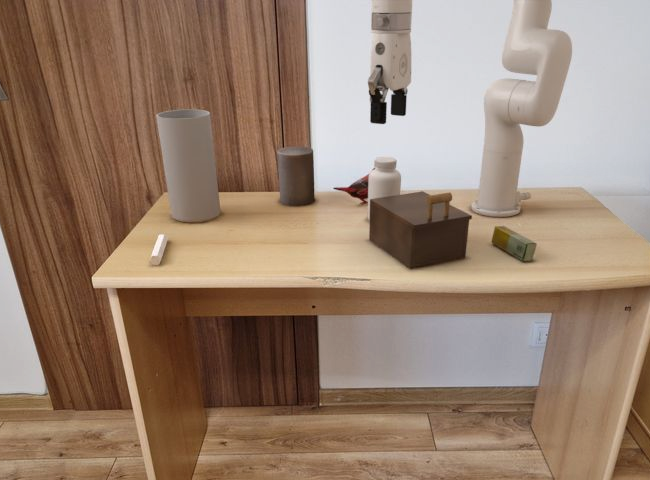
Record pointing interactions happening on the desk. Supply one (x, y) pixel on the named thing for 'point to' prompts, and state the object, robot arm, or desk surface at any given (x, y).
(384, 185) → the pill bottle
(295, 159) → the pillar candle
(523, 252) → the medication box
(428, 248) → the chest
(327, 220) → the desk surface
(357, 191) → the decorative bird figurine
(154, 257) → the white rectangular bar
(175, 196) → the cylinder vase
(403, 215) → the lid
